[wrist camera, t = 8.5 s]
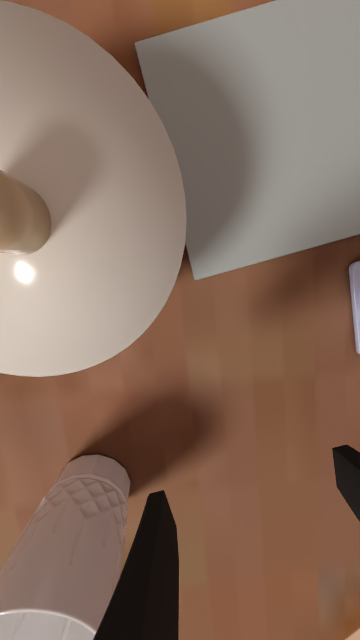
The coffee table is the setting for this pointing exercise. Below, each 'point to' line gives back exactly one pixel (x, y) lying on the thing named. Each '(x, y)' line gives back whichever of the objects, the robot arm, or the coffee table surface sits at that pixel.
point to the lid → (79, 200)
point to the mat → (262, 128)
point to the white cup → (67, 555)
